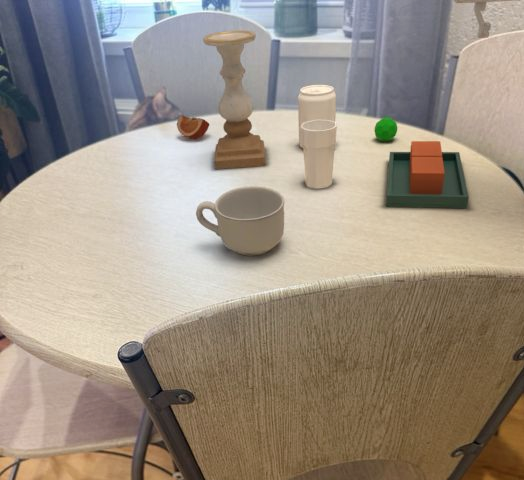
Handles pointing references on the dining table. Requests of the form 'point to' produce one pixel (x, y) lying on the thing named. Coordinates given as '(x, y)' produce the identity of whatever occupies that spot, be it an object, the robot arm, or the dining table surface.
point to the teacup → (247, 219)
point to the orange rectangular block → (425, 149)
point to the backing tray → (450, 197)
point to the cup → (318, 152)
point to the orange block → (426, 175)
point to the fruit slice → (192, 127)
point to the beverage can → (316, 105)
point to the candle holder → (235, 105)
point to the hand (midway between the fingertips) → (516, 36)
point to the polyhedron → (385, 129)
